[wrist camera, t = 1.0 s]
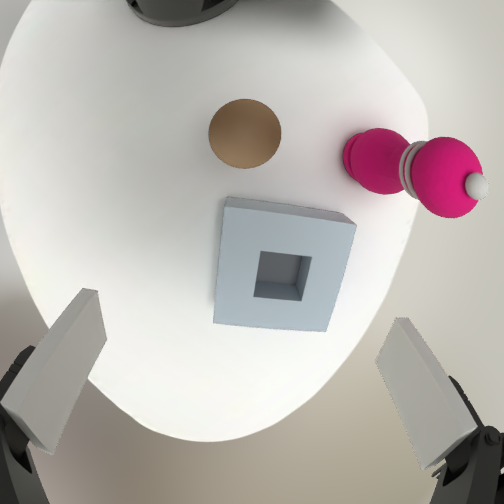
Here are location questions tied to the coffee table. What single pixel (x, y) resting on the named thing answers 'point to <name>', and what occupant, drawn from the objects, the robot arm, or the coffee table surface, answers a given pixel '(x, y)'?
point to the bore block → (280, 265)
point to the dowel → (244, 133)
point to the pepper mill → (418, 170)
